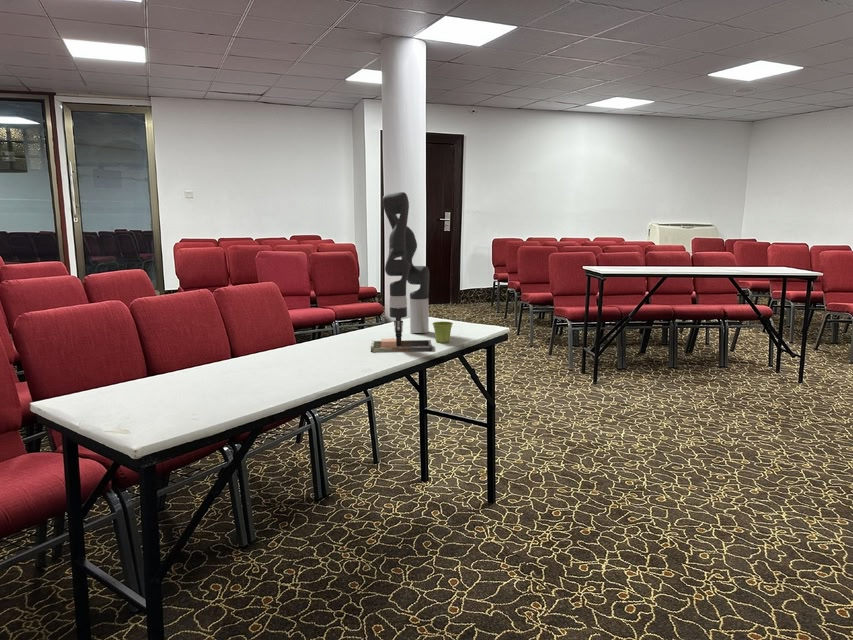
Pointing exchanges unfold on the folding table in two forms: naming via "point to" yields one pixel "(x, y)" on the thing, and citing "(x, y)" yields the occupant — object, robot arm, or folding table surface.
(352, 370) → the folding table surface
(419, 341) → the trap track
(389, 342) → the block
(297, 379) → the folding table surface
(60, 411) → the folding table surface
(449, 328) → the plant pot
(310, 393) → the folding table surface
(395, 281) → the robot arm
